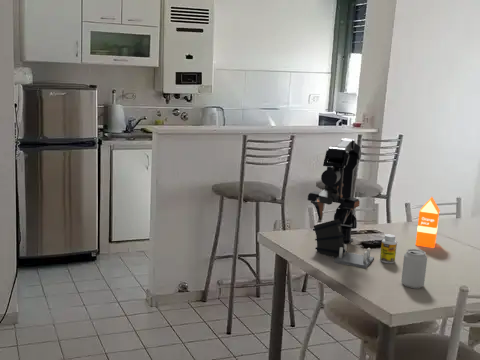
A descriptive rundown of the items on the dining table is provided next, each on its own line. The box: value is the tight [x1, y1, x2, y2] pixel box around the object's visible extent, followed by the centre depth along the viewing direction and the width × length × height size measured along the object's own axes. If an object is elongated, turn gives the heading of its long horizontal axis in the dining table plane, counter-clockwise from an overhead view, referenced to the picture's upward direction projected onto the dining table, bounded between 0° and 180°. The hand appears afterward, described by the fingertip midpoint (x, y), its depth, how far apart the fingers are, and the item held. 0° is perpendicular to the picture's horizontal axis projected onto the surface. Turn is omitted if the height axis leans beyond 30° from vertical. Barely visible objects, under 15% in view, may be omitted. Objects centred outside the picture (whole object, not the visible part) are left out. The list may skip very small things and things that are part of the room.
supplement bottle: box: [379, 233, 398, 264], centre depth 224 cm, size 6×6×10 cm
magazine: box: [312, 219, 345, 259], centre depth 228 cm, size 4×13×15 cm, turn 46°
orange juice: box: [415, 196, 441, 249], centre depth 249 cm, size 8×9×20 cm
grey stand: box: [333, 243, 375, 269], centre depth 223 cm, size 12×12×5 cm
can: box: [400, 248, 428, 289], centre depth 199 cm, size 8×8×12 cm
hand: (331, 222), depth 221 cm, fingers open, 9 cm apart
